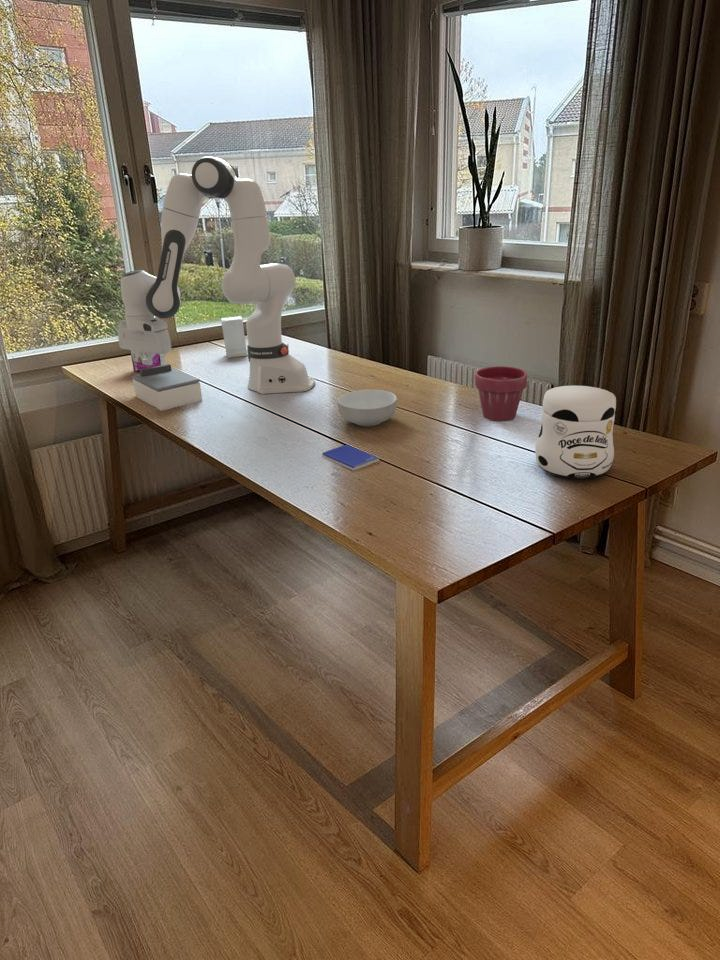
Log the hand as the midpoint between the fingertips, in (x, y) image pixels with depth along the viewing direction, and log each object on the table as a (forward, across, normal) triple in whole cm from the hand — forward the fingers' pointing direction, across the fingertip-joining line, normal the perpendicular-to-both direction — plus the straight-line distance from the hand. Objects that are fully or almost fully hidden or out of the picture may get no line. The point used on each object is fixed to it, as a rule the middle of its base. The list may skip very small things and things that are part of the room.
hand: (147, 364), depth 224 cm
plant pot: (+7, +115, +19) cm, 117 cm away
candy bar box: (+9, -19, +19) cm, 28 cm away
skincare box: (+9, -2, +48) cm, 49 cm away
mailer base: (+9, +12, -5) cm, 16 cm away
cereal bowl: (+8, +82, 0) cm, 83 cm away
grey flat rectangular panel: (+2, +12, -5) cm, 14 cm away
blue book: (+8, +91, -25) cm, 95 cm away
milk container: (+7, +142, -10) cm, 142 cm away
